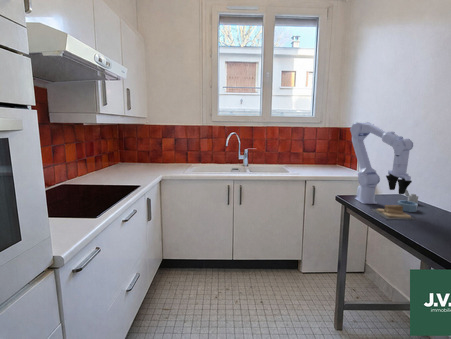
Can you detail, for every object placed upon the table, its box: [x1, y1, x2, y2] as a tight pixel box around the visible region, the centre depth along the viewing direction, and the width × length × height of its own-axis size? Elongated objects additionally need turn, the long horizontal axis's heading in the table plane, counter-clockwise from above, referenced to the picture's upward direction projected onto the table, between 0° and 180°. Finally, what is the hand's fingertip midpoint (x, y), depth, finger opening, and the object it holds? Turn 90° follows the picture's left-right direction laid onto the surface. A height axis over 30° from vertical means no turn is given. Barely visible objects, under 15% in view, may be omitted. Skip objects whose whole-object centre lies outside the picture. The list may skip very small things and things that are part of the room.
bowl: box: [396, 199, 419, 213], centre depth 132 cm, size 8×8×4 cm
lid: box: [376, 204, 412, 218], centre depth 124 cm, size 10×10×4 cm
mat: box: [370, 208, 417, 221], centre depth 125 cm, size 13×13×1 cm
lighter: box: [404, 188, 419, 204], centre depth 141 cm, size 7×2×8 cm, turn 77°
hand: (396, 191), depth 128 cm, fingers open, 7 cm apart
